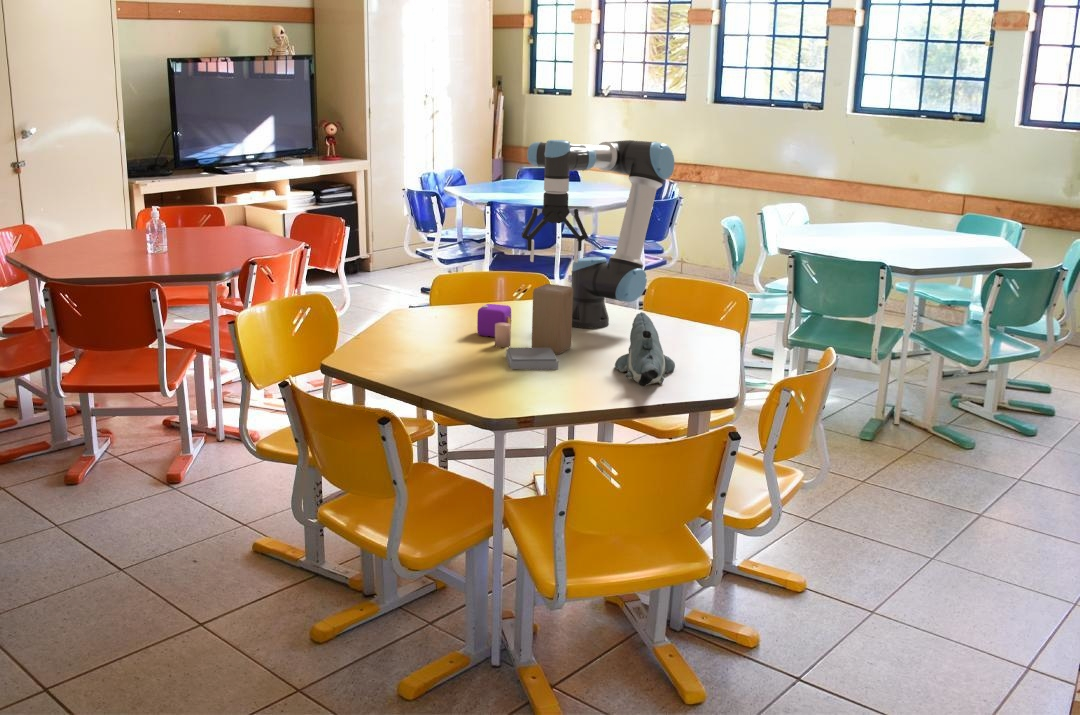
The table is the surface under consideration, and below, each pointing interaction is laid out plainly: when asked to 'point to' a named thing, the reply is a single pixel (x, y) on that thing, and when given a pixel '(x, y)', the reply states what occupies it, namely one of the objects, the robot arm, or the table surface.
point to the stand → (531, 358)
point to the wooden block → (552, 317)
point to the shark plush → (645, 354)
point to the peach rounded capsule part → (502, 334)
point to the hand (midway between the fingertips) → (553, 261)
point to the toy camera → (492, 318)
